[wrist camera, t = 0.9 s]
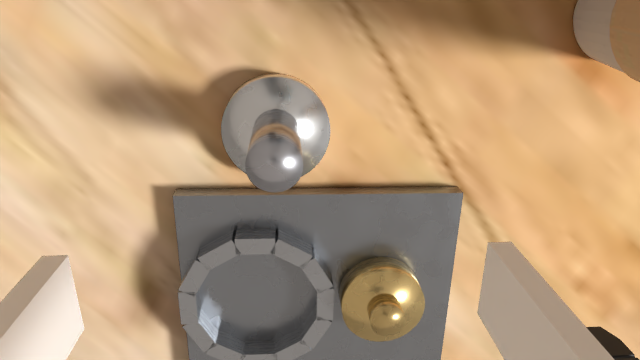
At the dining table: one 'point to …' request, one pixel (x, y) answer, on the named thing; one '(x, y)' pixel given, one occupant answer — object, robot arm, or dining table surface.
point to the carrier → (316, 272)
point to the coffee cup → (610, 33)
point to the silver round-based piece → (275, 130)
